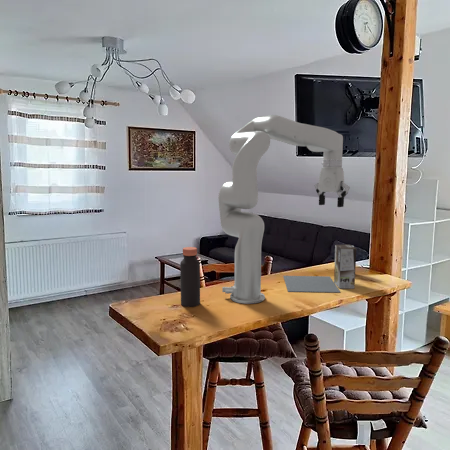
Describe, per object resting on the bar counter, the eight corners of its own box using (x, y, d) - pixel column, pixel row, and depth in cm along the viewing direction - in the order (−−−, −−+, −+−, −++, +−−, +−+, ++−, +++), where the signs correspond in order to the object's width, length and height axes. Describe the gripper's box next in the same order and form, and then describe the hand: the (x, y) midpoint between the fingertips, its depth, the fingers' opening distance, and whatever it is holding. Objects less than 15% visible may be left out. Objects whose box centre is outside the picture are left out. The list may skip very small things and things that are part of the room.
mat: (287, 291, 163) (287, 291, 163) (283, 276, 185) (283, 275, 184) (340, 292, 162) (340, 292, 162) (329, 277, 183) (329, 276, 183)
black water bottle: (203, 302, 151) (202, 247, 148) (194, 308, 145) (194, 251, 142) (186, 299, 153) (185, 245, 150) (177, 305, 147) (176, 249, 144)
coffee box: (355, 288, 167) (357, 248, 164) (338, 288, 167) (340, 248, 165) (349, 282, 176) (350, 244, 173) (333, 282, 176) (334, 244, 174)
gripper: (310, 164, 179) (309, 204, 181) (344, 164, 165) (342, 208, 168) (322, 164, 183) (320, 203, 186) (355, 164, 170) (353, 207, 172)
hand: (330, 205), depth 177 cm, fingers open, 9 cm apart
